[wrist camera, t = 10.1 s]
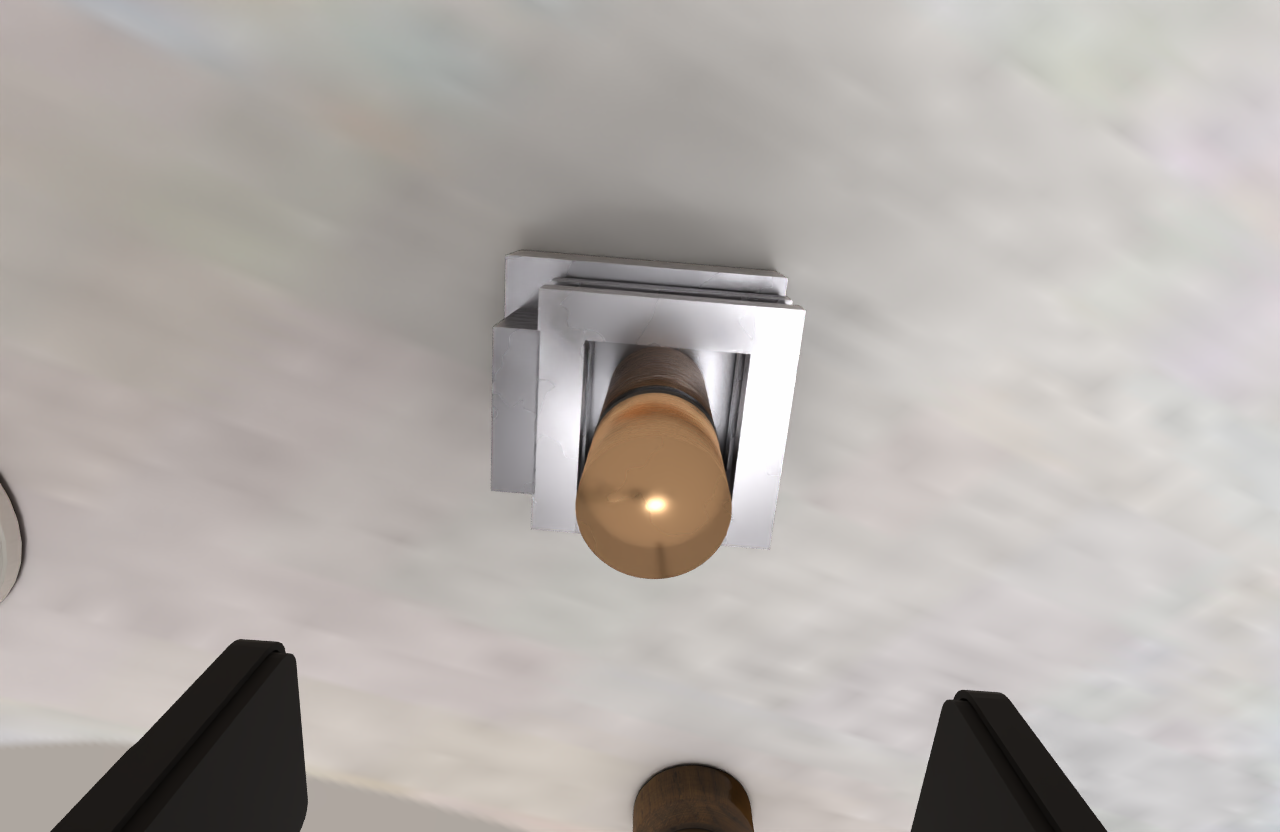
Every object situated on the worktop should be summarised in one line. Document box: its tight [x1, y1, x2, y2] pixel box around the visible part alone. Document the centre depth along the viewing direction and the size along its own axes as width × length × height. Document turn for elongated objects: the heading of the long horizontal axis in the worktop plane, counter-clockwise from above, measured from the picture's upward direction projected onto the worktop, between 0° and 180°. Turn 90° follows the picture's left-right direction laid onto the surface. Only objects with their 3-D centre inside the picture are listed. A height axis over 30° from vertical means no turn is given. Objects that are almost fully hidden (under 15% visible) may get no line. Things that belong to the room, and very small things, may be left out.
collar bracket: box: [491, 250, 806, 550], centre depth 27 cm, size 11×10×7 cm
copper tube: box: [575, 346, 732, 579], centre depth 23 cm, size 4×4×11 cm
